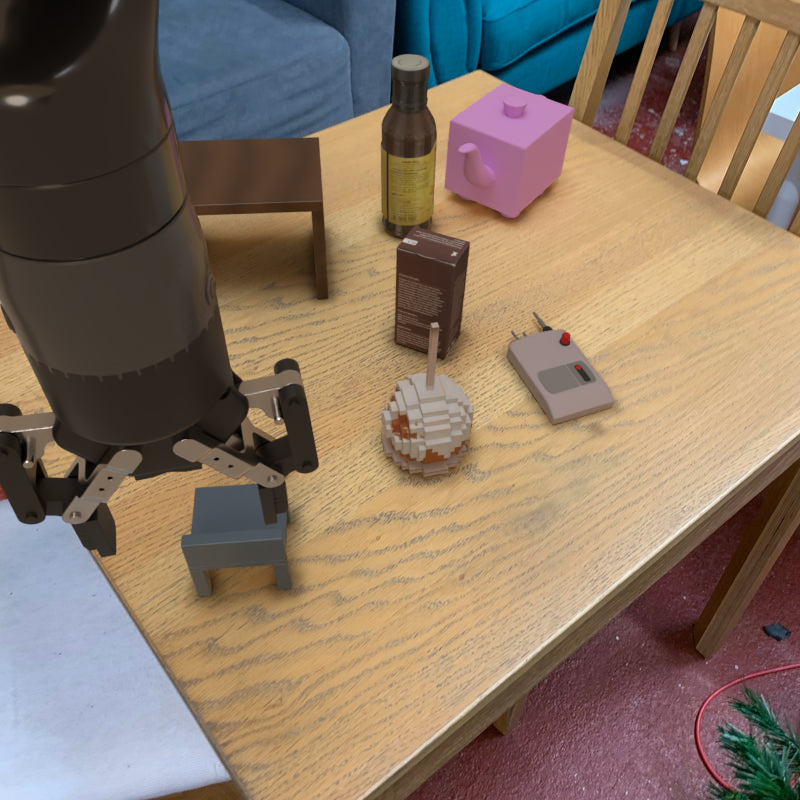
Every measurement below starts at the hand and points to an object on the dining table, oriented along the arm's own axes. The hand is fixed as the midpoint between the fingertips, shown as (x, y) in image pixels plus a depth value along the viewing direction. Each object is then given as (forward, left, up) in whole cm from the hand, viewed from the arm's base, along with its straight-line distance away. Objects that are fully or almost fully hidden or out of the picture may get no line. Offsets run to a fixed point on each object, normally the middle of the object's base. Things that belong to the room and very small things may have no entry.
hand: (190, 526), depth 42 cm
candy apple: (+16, +20, -20) cm, 32 cm away
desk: (0, +47, -20) cm, 51 cm away
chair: (0, +10, -20) cm, 22 cm away
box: (+18, +34, -20) cm, 43 cm away
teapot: (+30, +59, -20) cm, 69 cm away
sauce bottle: (+18, +54, -20) cm, 60 cm away
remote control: (+30, +28, -20) cm, 46 cm away
